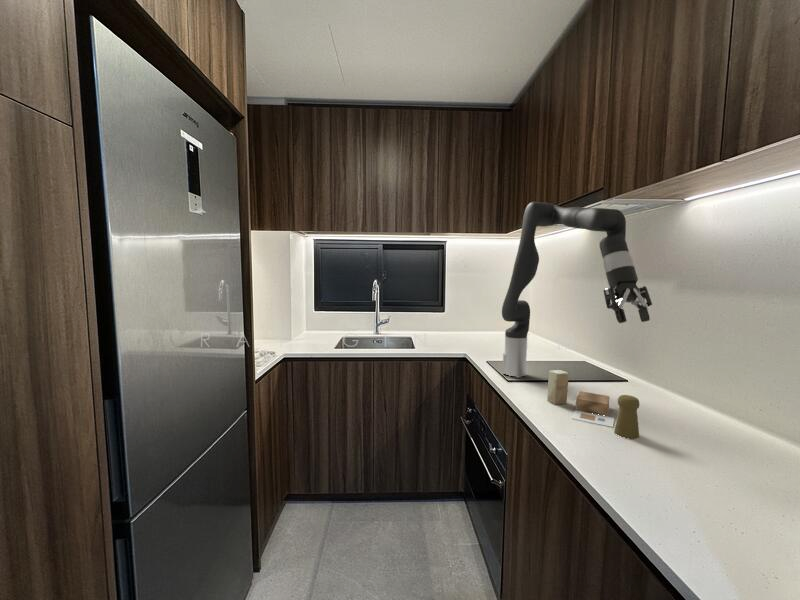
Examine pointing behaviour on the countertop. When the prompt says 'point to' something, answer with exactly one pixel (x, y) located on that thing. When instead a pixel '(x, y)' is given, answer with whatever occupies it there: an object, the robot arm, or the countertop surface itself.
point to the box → (557, 387)
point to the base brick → (592, 403)
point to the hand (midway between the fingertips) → (634, 321)
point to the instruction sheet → (593, 418)
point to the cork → (627, 417)
